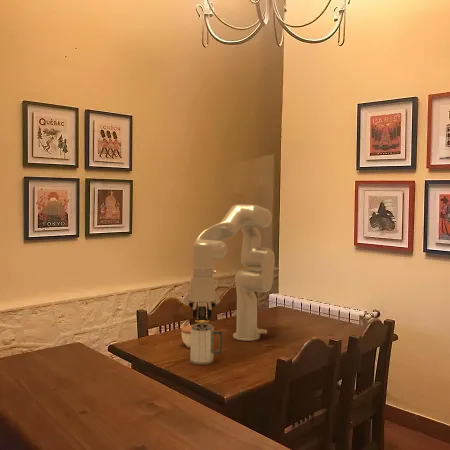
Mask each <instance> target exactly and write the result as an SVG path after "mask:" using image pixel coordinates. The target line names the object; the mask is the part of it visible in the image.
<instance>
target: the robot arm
mask: <svg viewBox="0 0 450 450" xmlns="http://www.w3.org/2000/svg"><path fill="white" fill-rule="evenodd" d="M272 221H273V214H272V212H271V211H270V210H269V209H268V208H265V207H263V206H259V205H258V204H257V205H256V204H244V203H243V204H242V203H241V204H239V203H237V204H234V205H233V206H231V207H230V208H229V210H228V211H227V213H225V215H224V216H223V218H222V219H221V221H220V222H218V223H216V224H213V225H212V226H210V227H208V228H206V229H205V230H203V231H202V232H201V233H200V234H199V235H198V236H197V238H196V239H195V241H194V243H193V245H192V252H193V255H192V260H193V261H192V263H193V265H192V266H193V268H192V276H190V282H189V293H188V295H186V297H185V298H184V303H185V304H186V305H188V306H189V307H190V308H191V309H192V318H194V321H195V320H197V318H198V308H197V305H198V303H207V306H208V307H207V308H206V318H207V319H208V320H209V321H210V318H212V309H214V308H215V306H216V305H218V304H219V303H221V300H220V298H219V297H218V295H217V294H216V282H215V276H213V275H216V274H217V270H214V269H213V260H221V259H224V258H225V257H226V255H227V254H228V251H229V250H228V246H227V243H226V242H224V241H225V240H228V239H231V238H234V237H235V236H236V235H237V234H238V232H239V231H240V230H241V233H242V244H241V252H240V253H241V255H240V262H241V265H242V266H244V267H247V268H257V269H260V270H251V269H241V270H239V271H237V272H236V274H235V276H234V284H235V288H236V290H235V291H236V331H235V332H234V333H233V334H232V338H233V339H235V340H237V341H244V342H245V341H246V342H249V341H257V340H259V339H261V335H262V334H263V335H267V334H268V329H263V328H258V297H257V295H256V294H255V293H256V292H257V293H268V292H270V291H271V289H272V288H273V287H272V286H273V282H274V273H275V265H276V264H275V263H276V258H275V257H276V256H275V252H274V251H273V250H272V249H271V248H269V247H261V243H262V236H261V233H260V231H259V230H258V229H257V228H263V229H264V228H265V229H266V228H269V226H271V225H272ZM223 240H224V241H223Z"/></svg>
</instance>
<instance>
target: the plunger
mask: <svg viewBox="0 0 450 450" xmlns="http://www.w3.org/2000/svg"><path fill="white" fill-rule="evenodd" d="M194 322H195V323H196V324H198V323H201V327H203V323H205V324H206V323H207V324H208V323H210V319H209V320H208V319H207V306H206V305H199V306H197V320H195V319H194Z"/></svg>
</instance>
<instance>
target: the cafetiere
mask: <svg viewBox="0 0 450 450" xmlns="http://www.w3.org/2000/svg"><path fill="white" fill-rule="evenodd" d="M191 325H192V327H191V348H190V352H189V354H190V358H189V362H190V363H191V364H192V365H196V366H208V365H211V364H213V363H214V355H222V354H223V330H214V326H213V324H210V323H208V322H207V323H203V327H201V323H194V324H193V323H192V324H191ZM215 335H219V338H218V339H219V344H218V345H219V346H218V347H219V349H218V350H214V337H215Z"/></svg>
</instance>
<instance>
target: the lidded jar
mask: <svg viewBox="0 0 450 450" xmlns="http://www.w3.org/2000/svg"><path fill="white" fill-rule="evenodd" d="M192 325H193V324H191V325H185V326H182V327H181V329H180V331H181V340H182V342H183V343H184V345H185V346H186V347H187V348H190V349H191V327H192Z"/></svg>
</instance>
